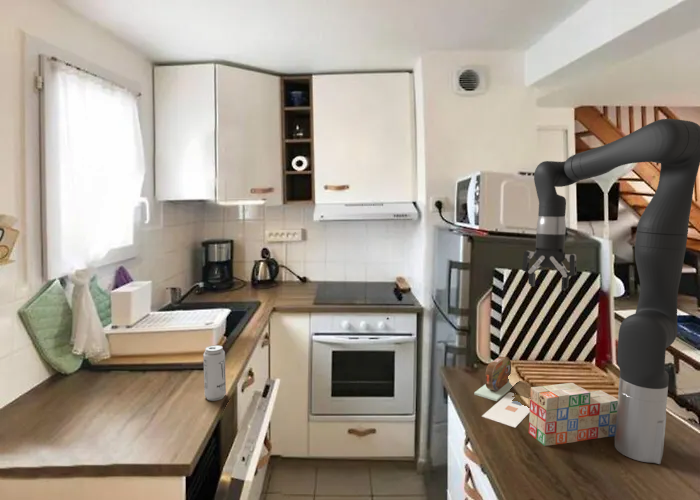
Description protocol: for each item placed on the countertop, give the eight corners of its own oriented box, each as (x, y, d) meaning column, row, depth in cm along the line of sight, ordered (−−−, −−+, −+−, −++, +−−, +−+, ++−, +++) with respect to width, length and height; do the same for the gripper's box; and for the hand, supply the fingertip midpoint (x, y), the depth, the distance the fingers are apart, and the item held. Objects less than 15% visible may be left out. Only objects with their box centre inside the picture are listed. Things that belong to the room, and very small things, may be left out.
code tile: (539, 404, 127) (540, 400, 127) (515, 431, 112) (515, 427, 112) (509, 395, 133) (509, 391, 133) (481, 419, 118) (481, 415, 117)
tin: (492, 395, 129) (493, 367, 128) (482, 392, 131) (483, 365, 130) (511, 379, 140) (512, 354, 140) (502, 377, 142) (503, 352, 142)
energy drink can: (222, 401, 125) (221, 351, 124) (201, 401, 125) (200, 351, 124) (228, 392, 131) (227, 344, 130) (208, 392, 131) (207, 344, 130)
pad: (519, 381, 141) (520, 379, 141) (496, 401, 126) (496, 399, 126) (498, 375, 145) (498, 373, 145) (474, 394, 131) (474, 392, 131)
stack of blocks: (599, 423, 114) (602, 378, 113) (618, 436, 108) (622, 388, 107) (527, 433, 109) (530, 386, 108) (544, 446, 103) (547, 397, 102)
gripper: (581, 232, 122) (577, 289, 124) (529, 230, 131) (526, 283, 133) (574, 234, 116) (570, 293, 118) (520, 231, 126) (518, 286, 127)
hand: (547, 288), depth 126 cm, fingers open, 8 cm apart
